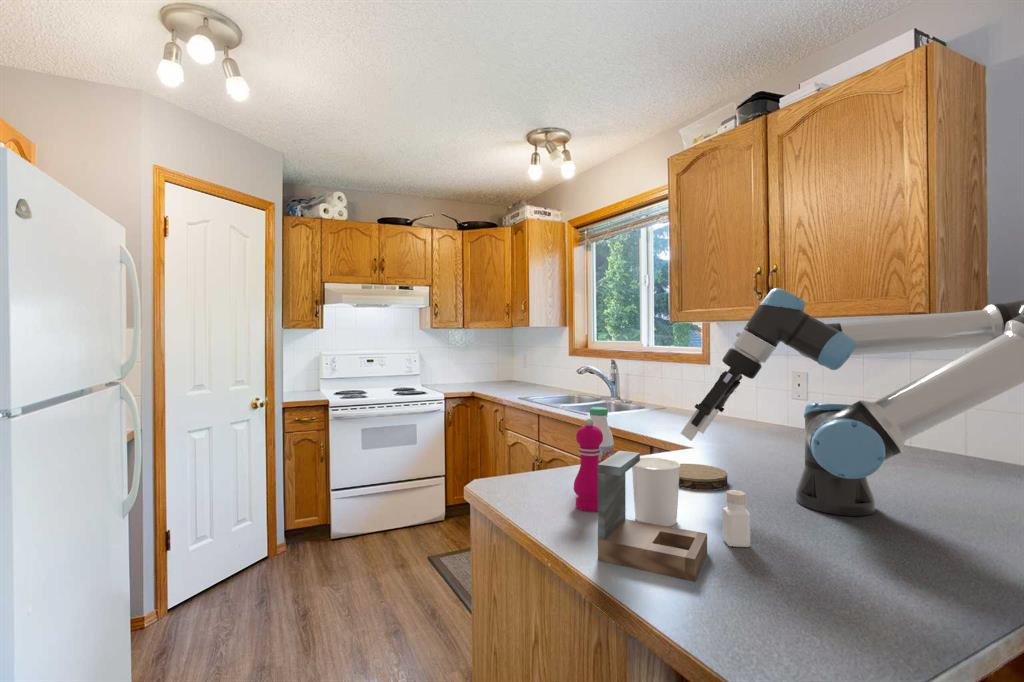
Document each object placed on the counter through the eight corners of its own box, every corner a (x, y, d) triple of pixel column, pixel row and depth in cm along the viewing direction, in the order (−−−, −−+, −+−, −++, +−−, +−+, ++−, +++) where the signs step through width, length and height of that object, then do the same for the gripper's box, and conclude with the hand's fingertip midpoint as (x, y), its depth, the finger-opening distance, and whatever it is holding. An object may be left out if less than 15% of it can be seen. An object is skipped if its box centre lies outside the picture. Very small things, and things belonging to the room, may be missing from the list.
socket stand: (707, 553, 91) (707, 460, 91) (695, 581, 81) (695, 476, 80) (619, 536, 99) (619, 450, 99) (597, 559, 88) (597, 464, 88)
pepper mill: (605, 513, 111) (605, 421, 111) (572, 511, 113) (572, 420, 113) (606, 502, 118) (606, 416, 118) (574, 501, 120) (574, 415, 120)
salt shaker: (743, 539, 97) (743, 489, 97) (751, 548, 93) (751, 496, 93) (721, 539, 97) (721, 489, 97) (728, 547, 93) (728, 495, 93)
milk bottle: (580, 487, 130) (580, 409, 130) (587, 479, 137) (587, 405, 137) (610, 491, 127) (610, 410, 127) (616, 482, 134) (616, 406, 134)
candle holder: (673, 532, 101) (673, 471, 100) (625, 523, 106) (625, 465, 106) (685, 517, 109) (685, 461, 109) (640, 509, 114) (640, 455, 114)
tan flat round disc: (663, 488, 131) (663, 476, 131) (663, 472, 146) (663, 461, 146) (731, 493, 126) (731, 481, 126) (724, 476, 141) (724, 465, 141)
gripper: (738, 347, 124) (689, 418, 129) (723, 343, 103) (664, 429, 108) (767, 364, 121) (715, 436, 126) (758, 364, 99) (696, 451, 104)
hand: (692, 433), depth 117 cm, fingers open, 13 cm apart
